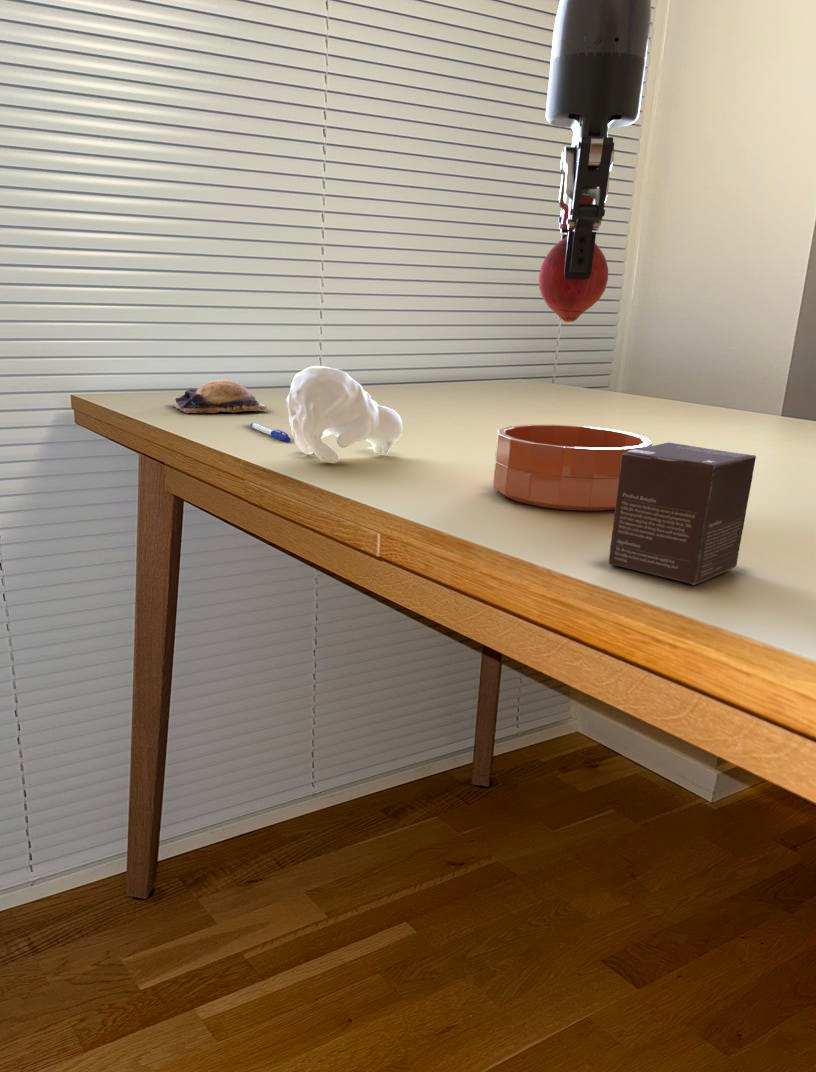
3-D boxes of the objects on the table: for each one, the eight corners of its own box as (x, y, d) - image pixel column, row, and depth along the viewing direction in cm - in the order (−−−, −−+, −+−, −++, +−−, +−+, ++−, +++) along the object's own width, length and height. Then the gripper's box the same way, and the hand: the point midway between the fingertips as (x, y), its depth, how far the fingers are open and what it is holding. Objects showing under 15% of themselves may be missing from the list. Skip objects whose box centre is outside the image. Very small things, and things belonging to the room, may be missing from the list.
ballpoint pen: (293, 442, 101) (293, 433, 101) (285, 443, 101) (285, 433, 101) (254, 427, 110) (254, 419, 110) (246, 428, 110) (246, 419, 109)
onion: (569, 324, 81) (580, 221, 78) (521, 320, 86) (530, 222, 83) (615, 324, 84) (628, 225, 82) (566, 320, 89) (577, 226, 86)
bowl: (630, 486, 86) (638, 429, 84) (652, 518, 74) (663, 453, 72) (491, 477, 87) (497, 421, 85) (493, 507, 76) (499, 443, 74)
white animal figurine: (283, 360, 91) (389, 371, 97) (274, 451, 94) (378, 456, 99) (314, 367, 86) (425, 378, 92) (304, 463, 88) (412, 467, 94)
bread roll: (250, 404, 128) (250, 376, 127) (269, 413, 120) (269, 383, 119) (171, 405, 124) (170, 375, 123) (185, 414, 117) (184, 383, 116)
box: (738, 570, 61) (760, 455, 59) (694, 588, 58) (715, 466, 55) (651, 549, 66) (668, 441, 63) (604, 565, 62) (620, 450, 59)
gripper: (662, 37, 71) (629, 281, 77) (632, 75, 84) (606, 280, 90) (558, 36, 72) (534, 278, 78) (545, 74, 85) (525, 278, 91)
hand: (573, 278), depth 84 cm, fingers closed on onion, 6 cm apart
